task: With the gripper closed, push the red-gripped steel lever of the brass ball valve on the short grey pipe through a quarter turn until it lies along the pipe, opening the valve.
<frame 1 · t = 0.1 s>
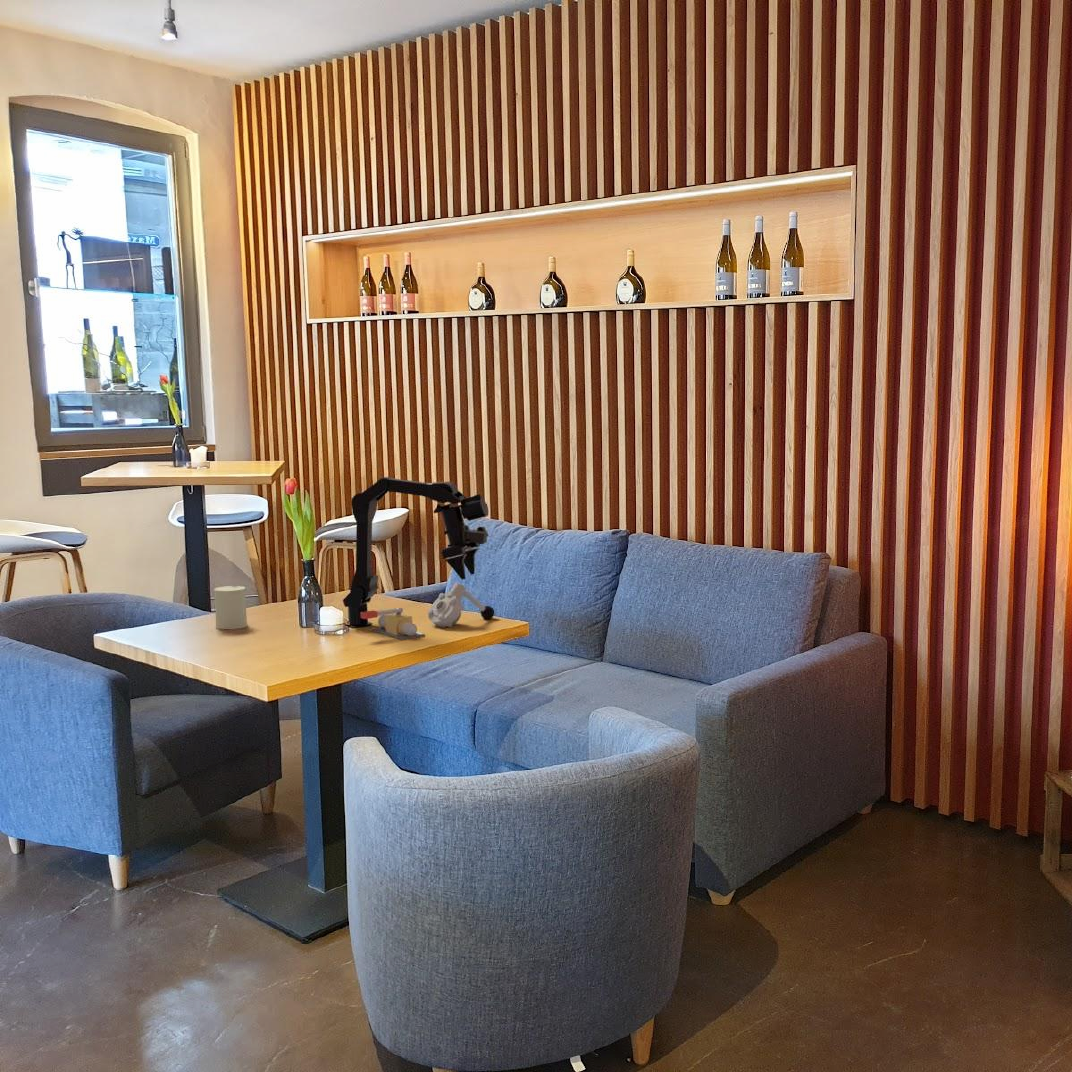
hand: (468, 576, 327), 15 cm above the table, fingers open, 9 cm apart
valve lever: (382, 612, 319), point 7 cm above the table, hinge at 0.0°
can: (231, 627, 337), on the table
mechanical valve: (463, 623, 339), on the table
pipe valve: (399, 633, 323), on the table
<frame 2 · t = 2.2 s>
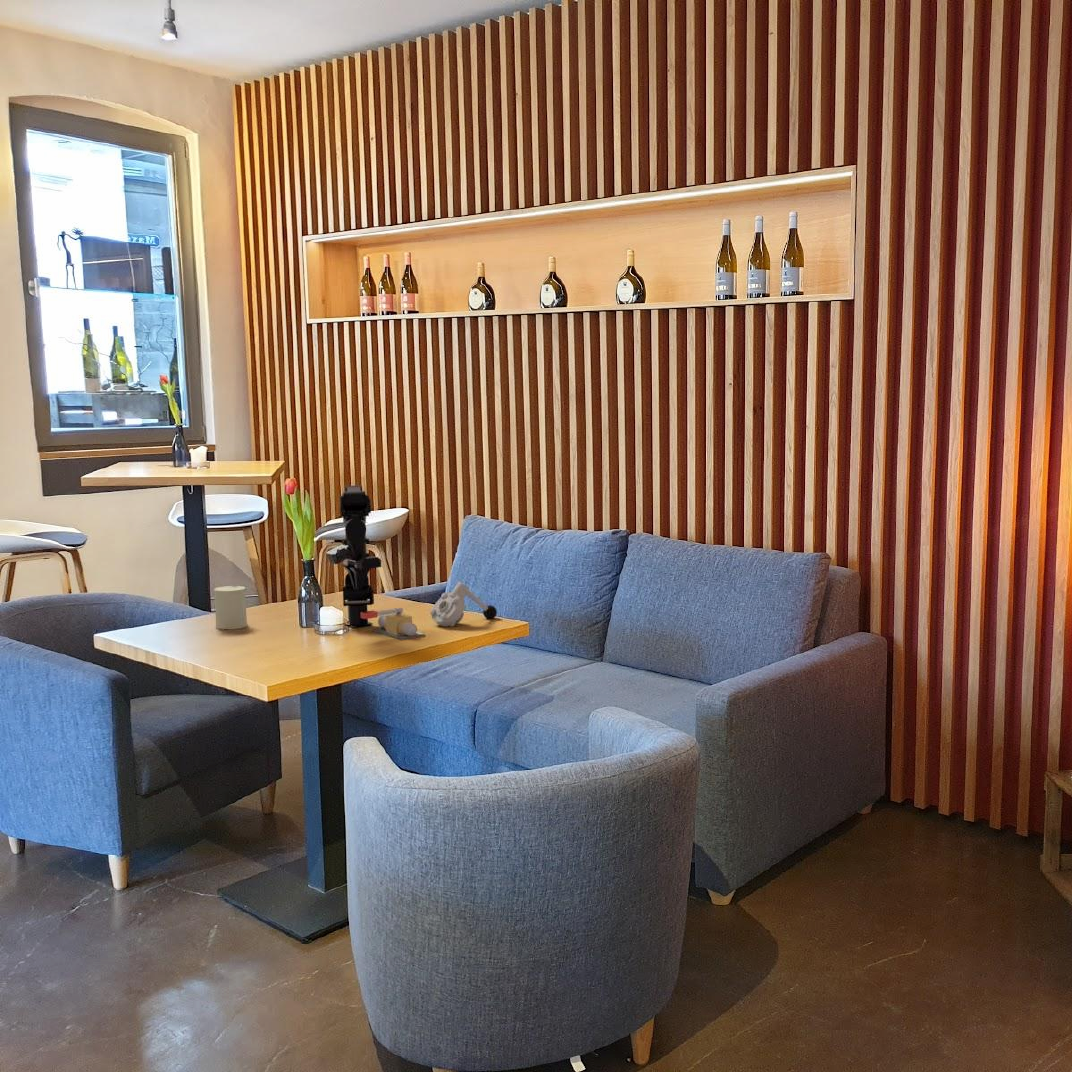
hand: (357, 589, 321), 13 cm above the table, fingers closed
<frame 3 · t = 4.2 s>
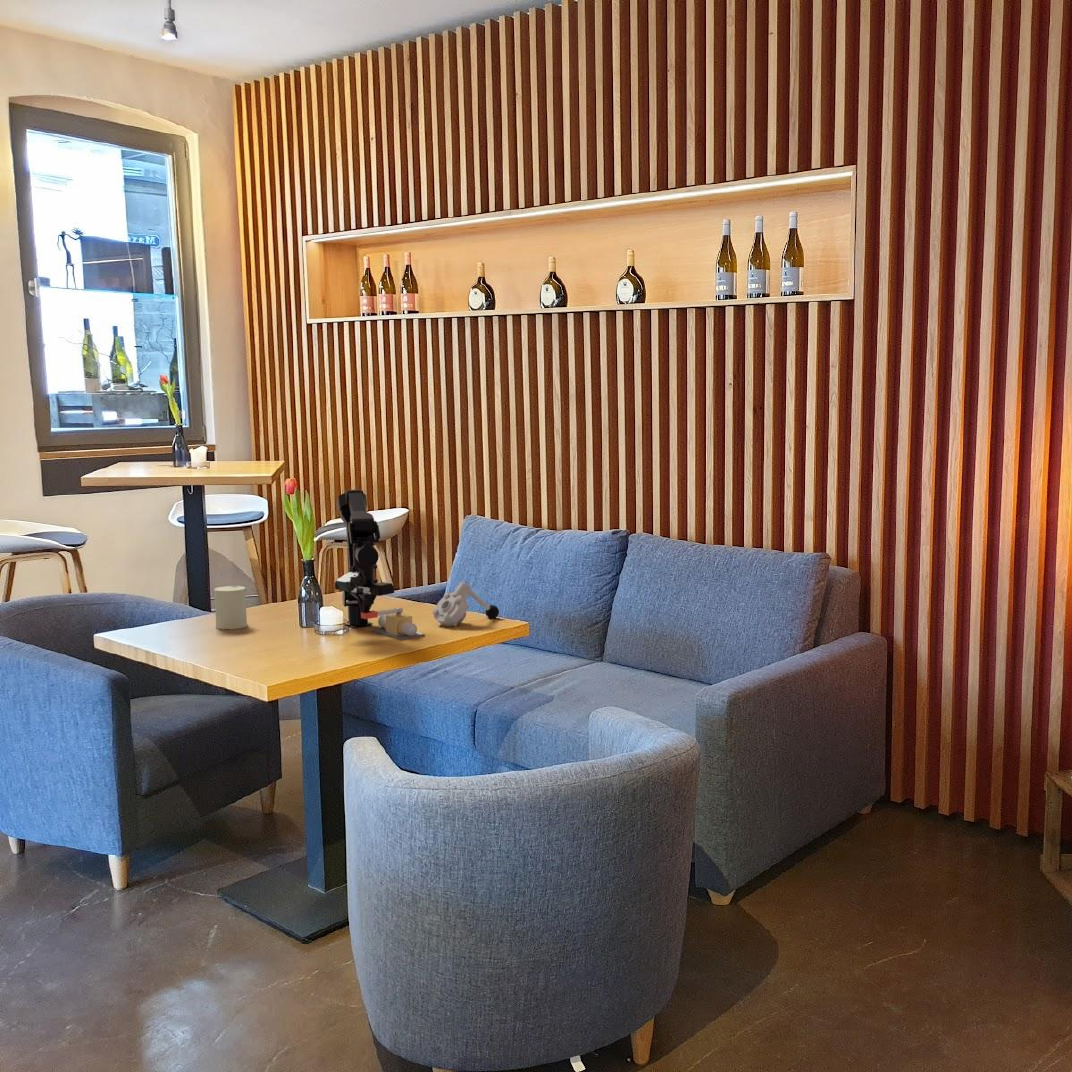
hand: (365, 616, 318), 6 cm above the table, fingers closed
valve lever: (382, 612, 319), point 7 cm above the table, hinge at 0.4°, touching gripper
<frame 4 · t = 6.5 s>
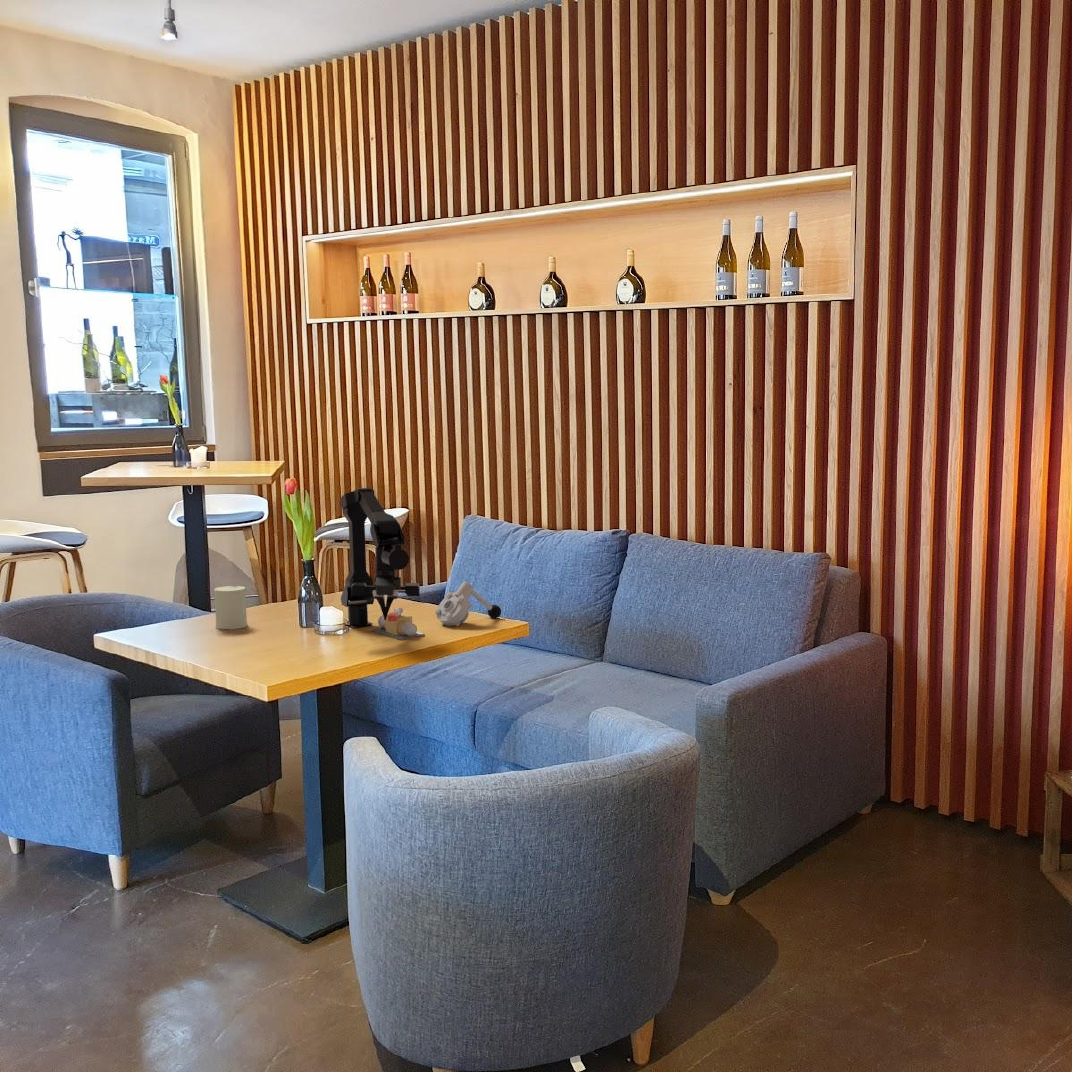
hand: (385, 619, 313), 6 cm above the table, fingers closed
valve lever: (395, 614, 317), point 7 cm above the table, hinge at 50.8°, touching gripper
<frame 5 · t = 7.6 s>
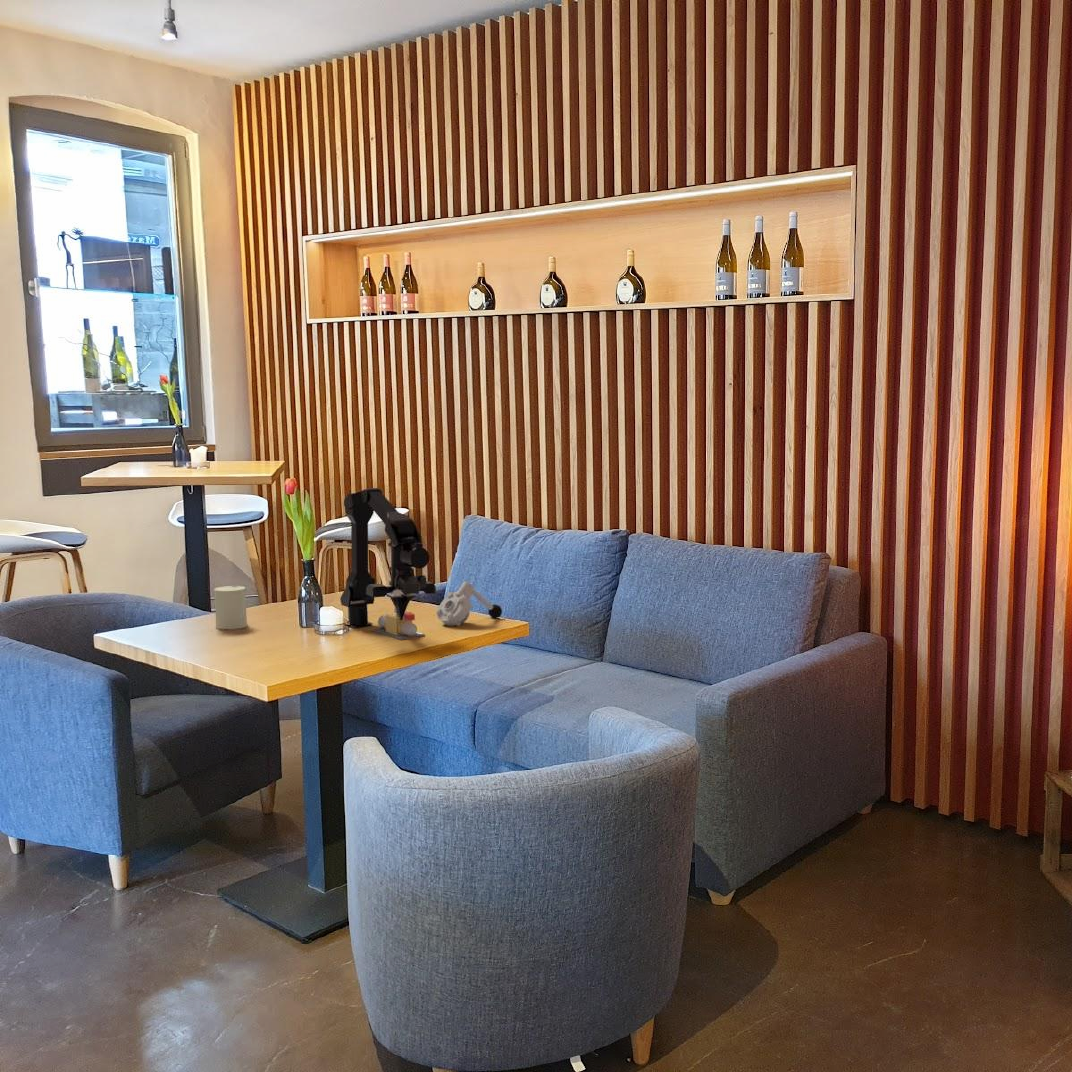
hand: (401, 619, 313), 6 cm above the table, fingers closed
valve lever: (403, 613, 318), point 7 cm above the table, hinge at 76.4°, touching gripper
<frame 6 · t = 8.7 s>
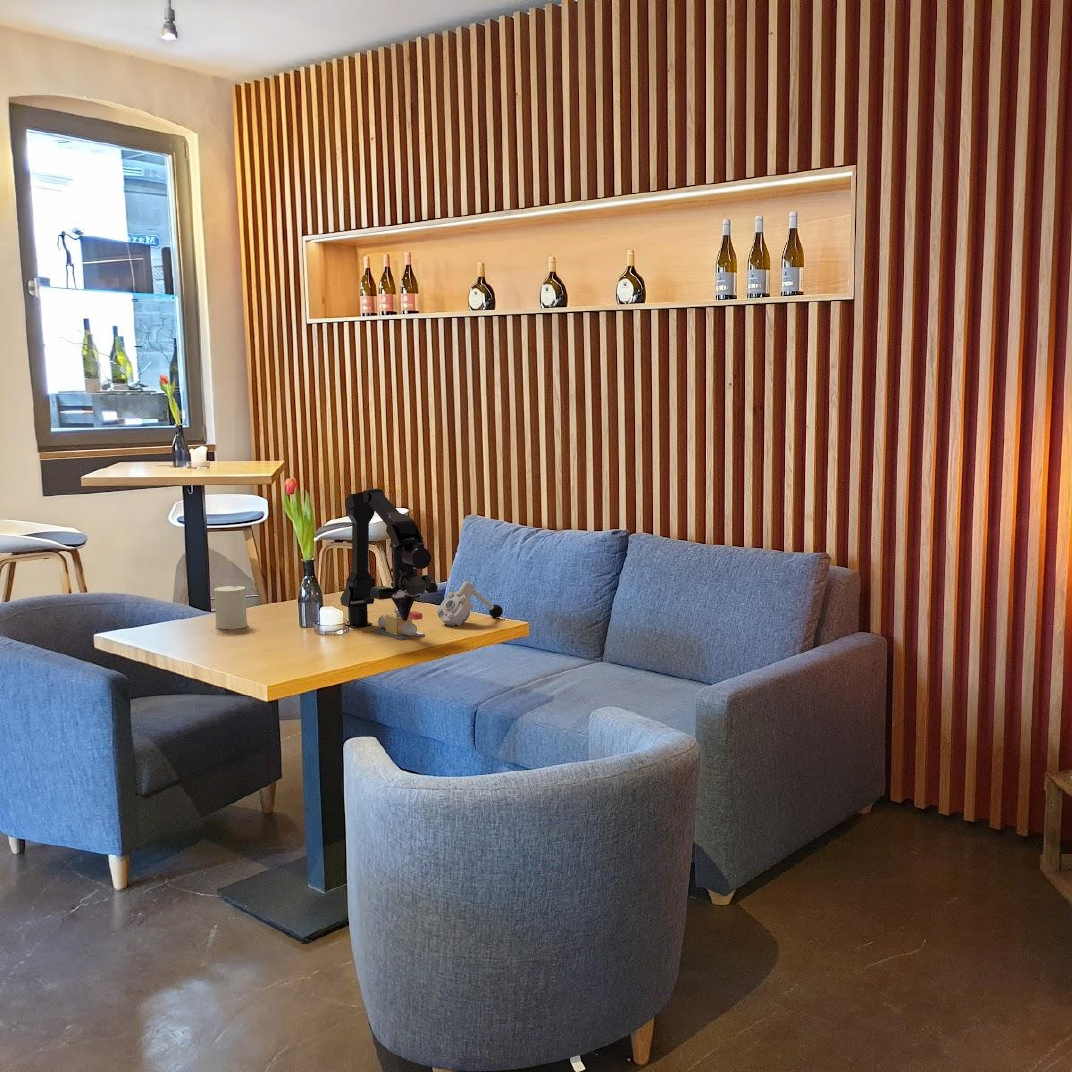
hand: (404, 620, 313), 6 cm above the table, fingers closed
valve lever: (407, 613, 318), point 7 cm above the table, hinge at 88.4°
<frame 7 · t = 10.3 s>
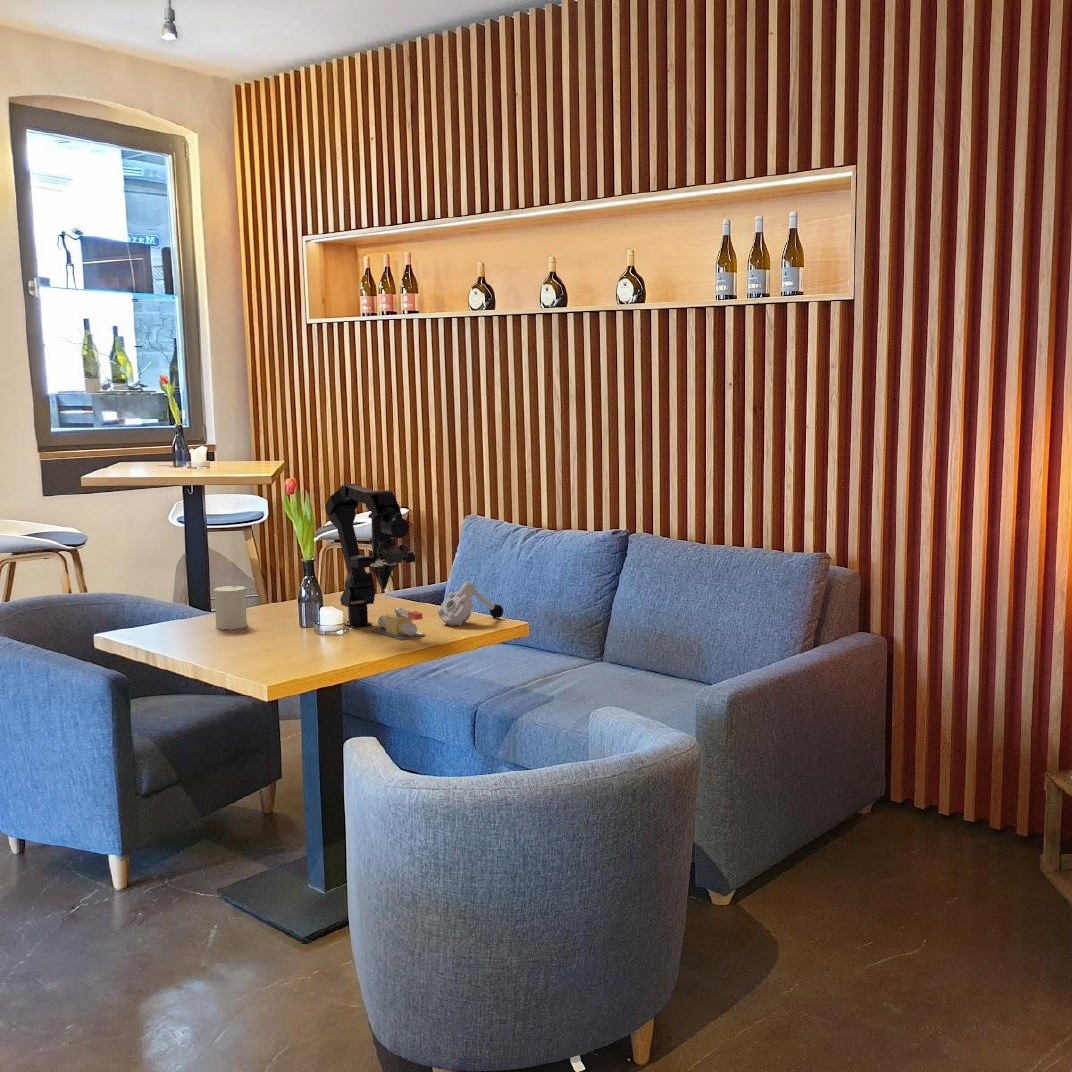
hand: (383, 589, 322), 13 cm above the table, fingers closed
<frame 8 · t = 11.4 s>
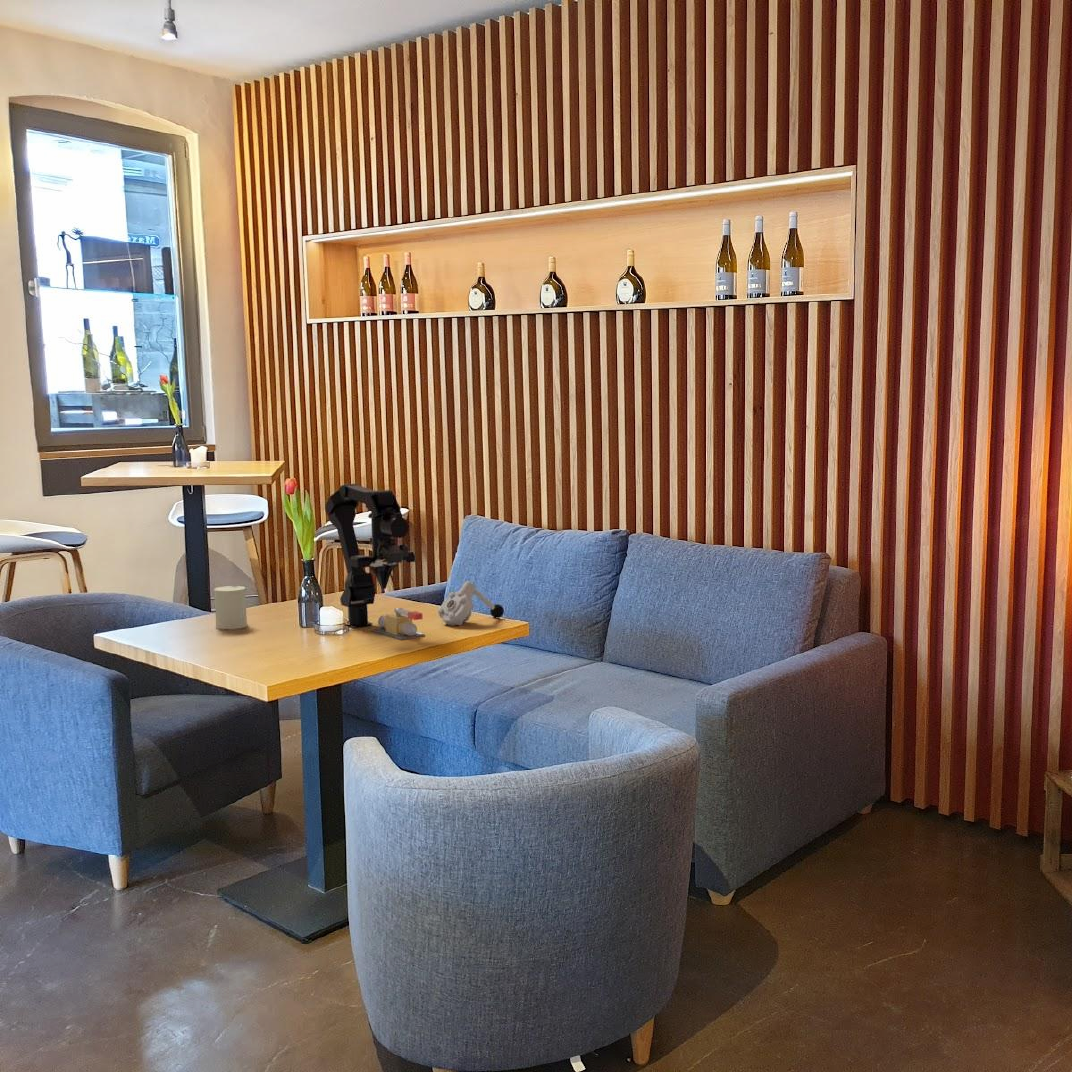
hand: (383, 588, 322), 13 cm above the table, fingers closed
at the end: valve lever at +88° (first picture: +0°) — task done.
